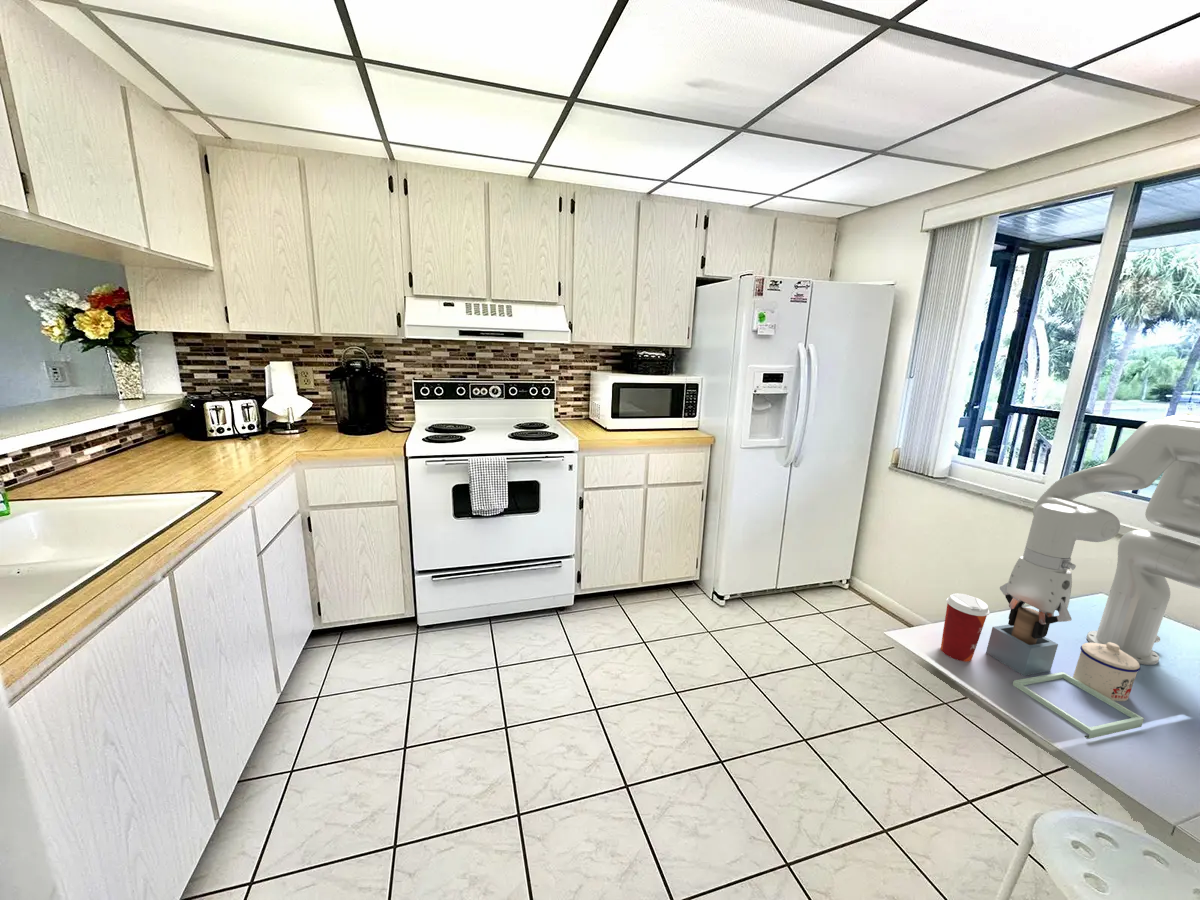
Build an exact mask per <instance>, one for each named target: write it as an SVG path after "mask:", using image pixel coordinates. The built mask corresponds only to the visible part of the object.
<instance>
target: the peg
mask: <svg viewBox="0 0 1200 900" xmlns="http://www.w3.org/2000/svg"><path fill="white" fill-rule="evenodd" d="M1035 622H1039V610H1035V609H1034V608H1030V607H1026V606H1023V607H1019V608H1018V612H1017V616H1016V619H1015V623H1014V627H1013V631H1012V634H1011V635H1012V636H1014V637H1016V638H1017V639H1019V640H1021V641H1023V642H1025V643H1026V644H1028V645H1034V644H1036V642H1037V639H1034V638H1033V637H1032V632H1033V628H1034V625H1035Z"/></svg>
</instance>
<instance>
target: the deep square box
mask: <svg viewBox="0 0 1200 900" xmlns="http://www.w3.org/2000/svg"><path fill="white" fill-rule="evenodd" d="M1013 627H1014V626H1010V625H1009V624H1006V625H1005V624H1004V625H1002V624H1001V625H996V626H992V628H991V632H990V636H989V639H988V644H987V647H986V652H985V653H986V654H987V655H989V656H991V657H992V658H994V659H996V660H997V661H998V662H1001V663H1002V664H1004V665H1005V666H1007V667H1008V668H1010V669H1011V670H1013V671H1015V672H1016V673H1019V674H1020V675H1021V676H1029V675H1036V674H1042V673H1048V672H1051V670H1052V667H1053V663H1054V661H1055V657H1056V653H1057V650H1058V647H1059V644H1058V643H1056V642H1055V641H1053V640H1051V639H1049V638H1047V636H1045V637H1044V638H1037V642H1036V644H1034V645H1028V644H1026V643H1025V642H1023V641H1021V640H1019V639H1017V638H1016V637H1014V636H1012V635H1011V634H1012V631H1013Z"/></svg>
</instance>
